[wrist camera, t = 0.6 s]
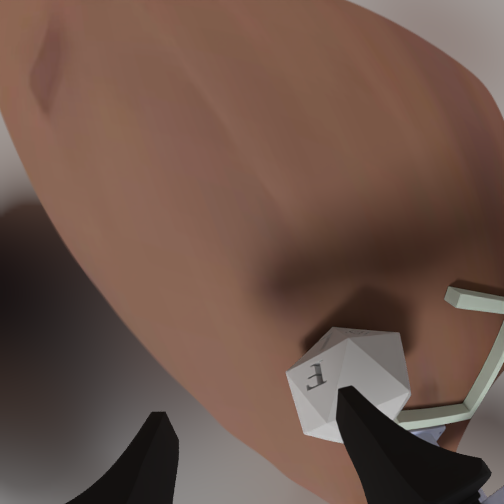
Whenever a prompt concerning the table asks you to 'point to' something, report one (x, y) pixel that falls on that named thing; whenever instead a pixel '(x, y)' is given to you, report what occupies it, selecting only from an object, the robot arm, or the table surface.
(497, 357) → the bay
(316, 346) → the die
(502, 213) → the table surface
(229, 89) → the table surface
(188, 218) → the table surface
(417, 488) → the robot arm
